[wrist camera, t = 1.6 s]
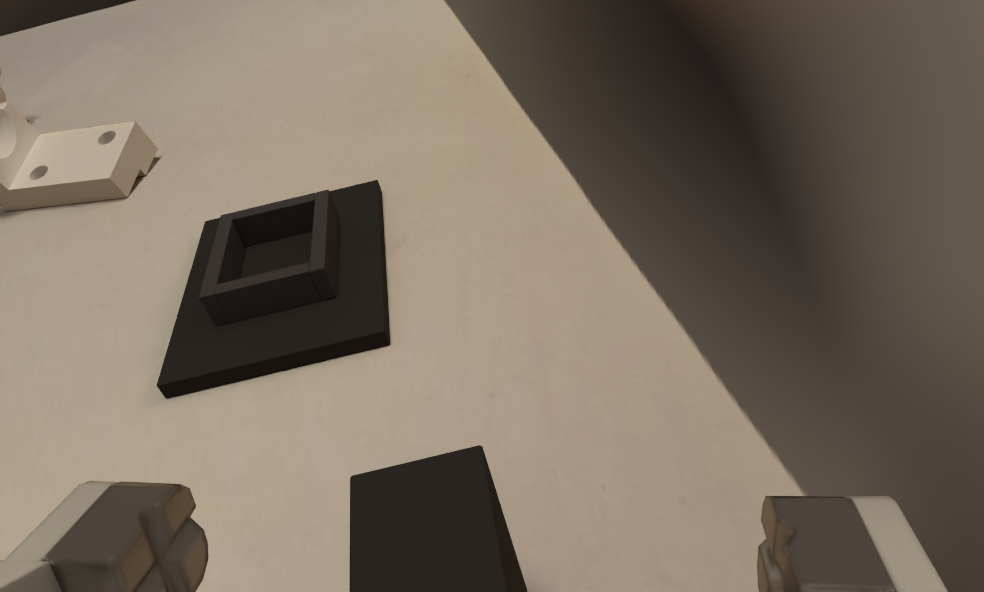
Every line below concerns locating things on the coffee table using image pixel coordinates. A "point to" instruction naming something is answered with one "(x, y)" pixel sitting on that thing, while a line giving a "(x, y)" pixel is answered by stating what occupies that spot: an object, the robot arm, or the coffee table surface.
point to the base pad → (281, 290)
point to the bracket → (68, 162)
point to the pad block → (431, 528)
